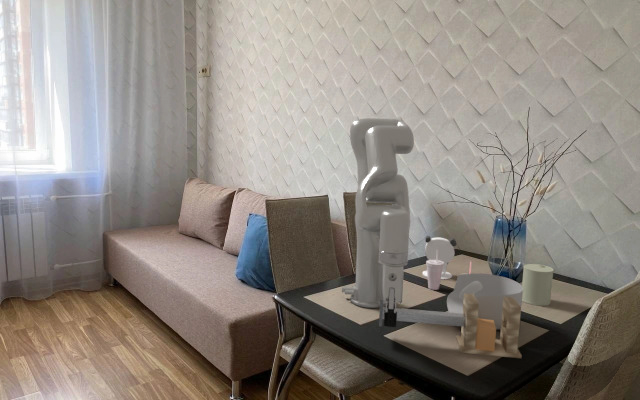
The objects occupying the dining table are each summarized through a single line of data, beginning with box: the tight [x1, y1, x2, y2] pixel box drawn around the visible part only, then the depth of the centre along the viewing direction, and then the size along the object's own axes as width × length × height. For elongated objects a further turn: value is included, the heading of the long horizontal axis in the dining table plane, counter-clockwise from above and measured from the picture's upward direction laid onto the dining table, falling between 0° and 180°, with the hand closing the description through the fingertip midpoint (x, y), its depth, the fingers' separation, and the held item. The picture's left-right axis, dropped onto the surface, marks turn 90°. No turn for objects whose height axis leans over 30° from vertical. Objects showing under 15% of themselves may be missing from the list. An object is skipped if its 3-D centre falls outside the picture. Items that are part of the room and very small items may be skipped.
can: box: [521, 263, 555, 307], centre depth 149 cm, size 9×9×12 cm
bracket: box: [456, 293, 522, 359], centre depth 114 cm, size 14×8×13 cm, turn 80°
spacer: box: [475, 318, 497, 351], centre depth 115 cm, size 4×6×6 cm
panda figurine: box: [422, 235, 457, 281], centre depth 174 cm, size 12×11×15 cm
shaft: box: [378, 300, 466, 327], centre depth 117 cm, size 22×6×5 cm, turn 80°
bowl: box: [446, 273, 523, 331], centre depth 131 cm, size 20×19×12 cm
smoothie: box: [425, 250, 444, 291], centre depth 159 cm, size 6×6×14 cm
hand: (390, 323), depth 119 cm, fingers closed on shaft, 2 cm apart
